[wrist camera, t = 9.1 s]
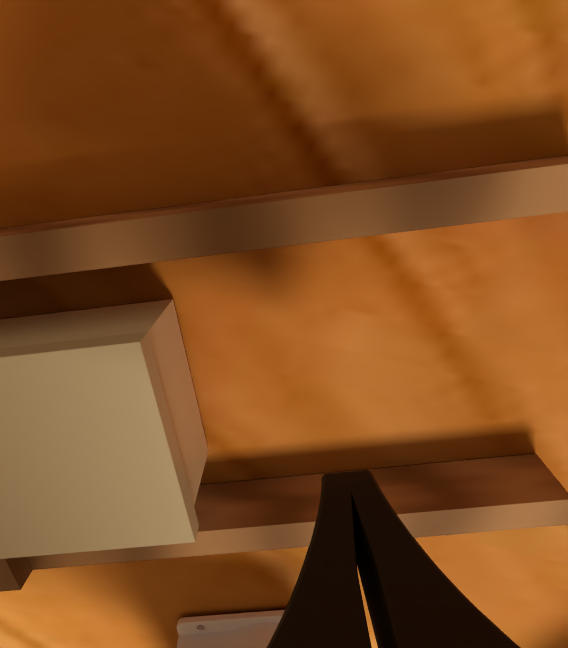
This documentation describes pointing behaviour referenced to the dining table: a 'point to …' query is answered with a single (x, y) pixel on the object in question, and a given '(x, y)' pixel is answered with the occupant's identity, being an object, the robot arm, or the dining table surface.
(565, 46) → the dining table surface
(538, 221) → the dining table surface
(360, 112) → the dining table surface
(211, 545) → the bay
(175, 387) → the beige square block
